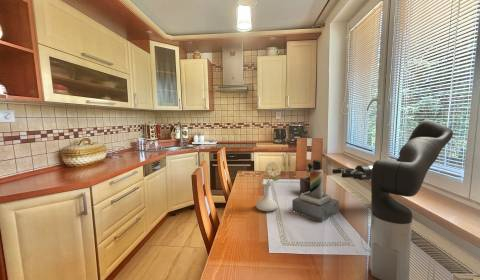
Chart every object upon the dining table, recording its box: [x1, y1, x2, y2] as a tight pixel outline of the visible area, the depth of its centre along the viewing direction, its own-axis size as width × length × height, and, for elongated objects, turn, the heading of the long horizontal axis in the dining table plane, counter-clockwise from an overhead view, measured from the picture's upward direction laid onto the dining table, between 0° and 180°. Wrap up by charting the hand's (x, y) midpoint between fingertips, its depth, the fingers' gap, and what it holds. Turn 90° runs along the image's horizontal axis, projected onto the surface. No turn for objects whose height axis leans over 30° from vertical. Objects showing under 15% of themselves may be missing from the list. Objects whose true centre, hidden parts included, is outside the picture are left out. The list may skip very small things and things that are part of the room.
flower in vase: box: [255, 161, 282, 212], centre depth 107 cm, size 13×11×25 cm
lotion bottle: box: [309, 159, 324, 199], centre depth 103 cm, size 6×6×20 cm
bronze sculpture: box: [299, 162, 313, 194], centre depth 133 cm, size 16×11×18 cm
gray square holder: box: [291, 191, 340, 223], centre depth 104 cm, size 16×16×9 cm
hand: (337, 173), depth 104 cm, fingers open, 8 cm apart
